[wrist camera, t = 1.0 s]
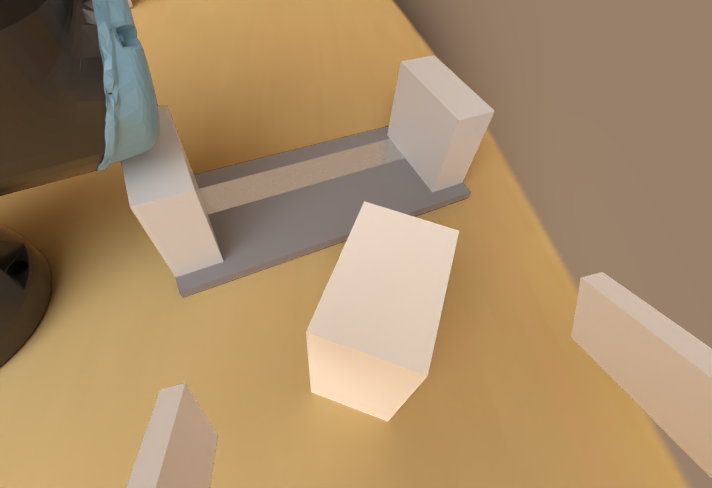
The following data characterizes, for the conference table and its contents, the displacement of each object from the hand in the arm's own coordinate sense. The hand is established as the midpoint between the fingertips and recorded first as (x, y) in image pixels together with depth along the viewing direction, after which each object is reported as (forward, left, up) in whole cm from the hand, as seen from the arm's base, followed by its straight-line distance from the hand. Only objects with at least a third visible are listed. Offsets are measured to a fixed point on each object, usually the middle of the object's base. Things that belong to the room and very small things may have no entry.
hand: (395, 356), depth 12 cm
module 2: (-2, +29, -16) cm, 33 cm away
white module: (-1, +6, -17) cm, 18 cm away
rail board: (-11, +20, -17) cm, 28 cm away
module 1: (-20, +11, -16) cm, 28 cm away
